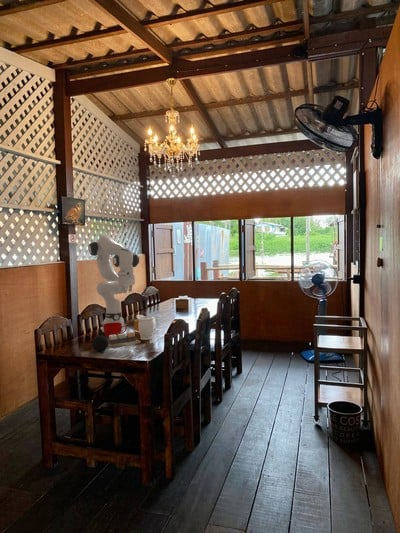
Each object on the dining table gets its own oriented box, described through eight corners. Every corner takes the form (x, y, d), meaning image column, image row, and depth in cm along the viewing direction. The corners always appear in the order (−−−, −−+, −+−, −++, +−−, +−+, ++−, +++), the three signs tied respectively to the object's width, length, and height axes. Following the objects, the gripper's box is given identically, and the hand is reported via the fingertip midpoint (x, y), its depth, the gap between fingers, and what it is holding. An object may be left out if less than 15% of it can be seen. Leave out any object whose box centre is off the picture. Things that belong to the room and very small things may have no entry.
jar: (139, 341, 267) (138, 319, 266) (137, 337, 277) (137, 316, 276) (155, 339, 270) (154, 318, 269) (152, 336, 280) (152, 315, 279)
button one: (109, 339, 258) (109, 335, 258) (115, 338, 260) (114, 334, 260) (111, 341, 255) (111, 336, 254) (117, 340, 257) (117, 335, 256)
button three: (126, 337, 264) (126, 332, 264) (132, 336, 266) (131, 331, 266) (128, 338, 261) (128, 333, 261) (134, 337, 263) (134, 332, 263)
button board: (103, 344, 260) (103, 338, 259) (134, 339, 271) (134, 333, 271) (108, 348, 250) (108, 341, 250) (140, 342, 262) (140, 336, 262)
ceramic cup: (123, 340, 269) (122, 326, 268) (100, 340, 272) (99, 325, 272) (130, 336, 282) (129, 322, 281) (108, 335, 285) (107, 322, 284)
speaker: (111, 351, 243) (111, 335, 243) (98, 354, 236) (97, 338, 235) (102, 348, 250) (102, 333, 249) (89, 351, 243) (88, 336, 242)
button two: (117, 338, 261) (117, 333, 261) (123, 337, 263) (123, 332, 263) (120, 339, 258) (119, 334, 258) (125, 338, 260) (125, 334, 260)
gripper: (128, 271, 278) (129, 290, 279) (116, 273, 258) (117, 294, 259) (136, 271, 277) (137, 290, 277) (125, 273, 257) (126, 293, 257)
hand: (127, 292), depth 268 cm, fingers open, 8 cm apart
